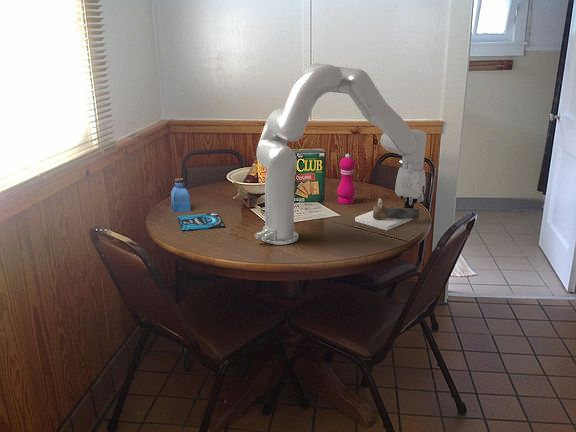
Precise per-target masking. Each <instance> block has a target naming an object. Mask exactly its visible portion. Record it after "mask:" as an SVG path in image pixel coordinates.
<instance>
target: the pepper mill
mask: <svg viewBox="0 0 576 432" xmlns="http://www.w3.org/2000/svg"><path fill="white" fill-rule="evenodd" d="M355 166H356V164H355V159H354V158H351V155H350V154H349V153H346V154H345V157H343V158H341V159H340V162H339V168H340V174H341V179H340V180H341V181H340V183H339V185H338V186H337V192H336V193H337V195H338V197H337V202H338V204H340V205H351V204H353V203H354V196H355V194H356V189H355V185H354V184H353V179H352V177H353V174H354V168H355Z"/></svg>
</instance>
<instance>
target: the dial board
mask: <svg viewBox="0 0 576 432" xmlns="http://www.w3.org/2000/svg"><path fill="white" fill-rule="evenodd" d="M412 220H413V219H403V218H384V219H375V218H373V210H371V211H368V212H366V213H362V214H360V215H358V216H355V217H354V222H357V223H361V224H363V225H364V224H365V225H367V226H370V227H373V228H374V227H375V228H377V229H381V230H384V231H389V230H392V229H394V228H396V227H399V226H401V225H403V224H406V223H408V222H410V221H412Z"/></svg>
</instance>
